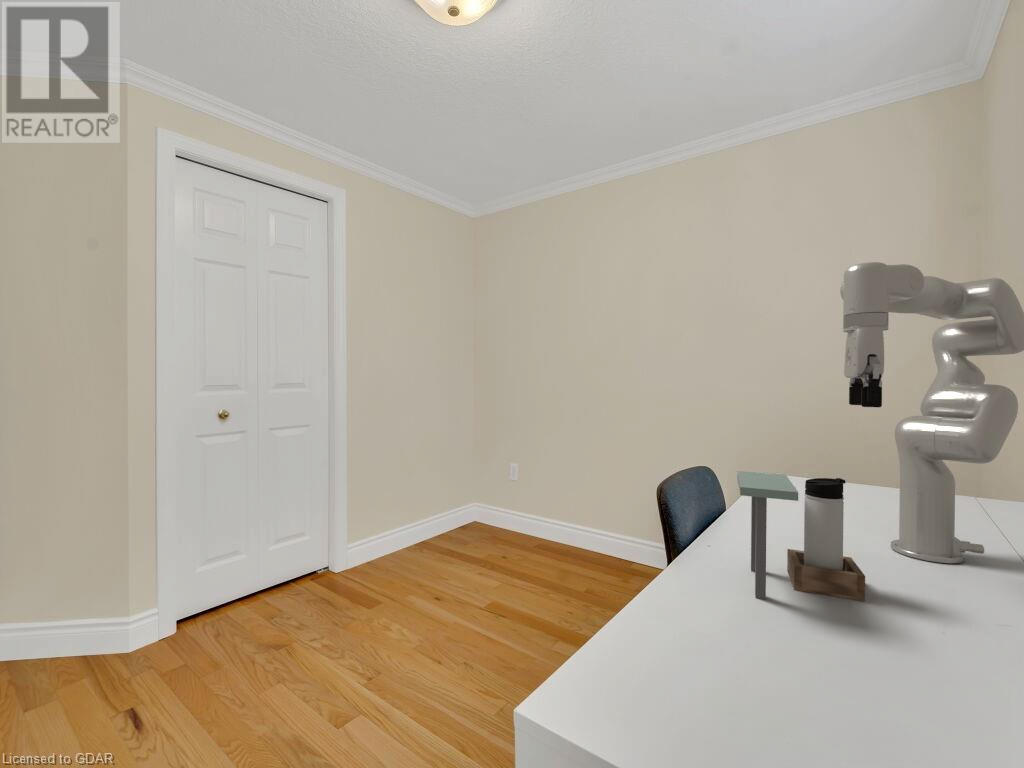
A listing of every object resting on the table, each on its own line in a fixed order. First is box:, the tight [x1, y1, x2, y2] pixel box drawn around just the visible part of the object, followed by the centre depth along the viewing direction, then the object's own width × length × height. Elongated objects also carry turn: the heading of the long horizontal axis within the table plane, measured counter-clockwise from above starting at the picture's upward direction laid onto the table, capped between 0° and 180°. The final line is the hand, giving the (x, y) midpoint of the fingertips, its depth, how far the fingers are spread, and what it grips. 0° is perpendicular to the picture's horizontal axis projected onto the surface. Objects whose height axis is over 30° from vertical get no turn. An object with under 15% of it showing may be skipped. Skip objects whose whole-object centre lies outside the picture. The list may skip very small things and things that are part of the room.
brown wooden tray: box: [786, 548, 866, 602], centre depth 90 cm, size 11×10×4 cm
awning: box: [736, 470, 799, 601], centre depth 90 cm, size 9×17×20 cm, turn 156°
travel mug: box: [803, 477, 846, 571], centre depth 90 cm, size 6×7×20 cm
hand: (864, 406), depth 97 cm, fingers open, 9 cm apart
